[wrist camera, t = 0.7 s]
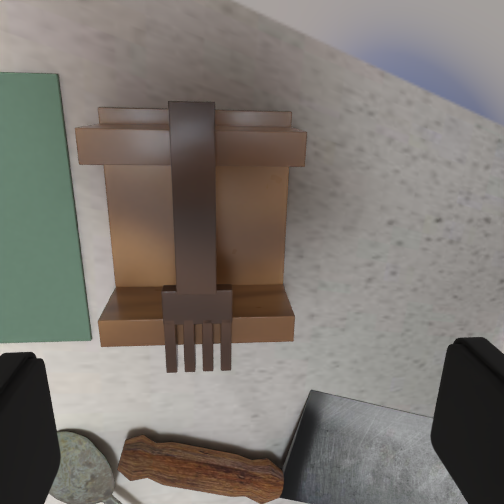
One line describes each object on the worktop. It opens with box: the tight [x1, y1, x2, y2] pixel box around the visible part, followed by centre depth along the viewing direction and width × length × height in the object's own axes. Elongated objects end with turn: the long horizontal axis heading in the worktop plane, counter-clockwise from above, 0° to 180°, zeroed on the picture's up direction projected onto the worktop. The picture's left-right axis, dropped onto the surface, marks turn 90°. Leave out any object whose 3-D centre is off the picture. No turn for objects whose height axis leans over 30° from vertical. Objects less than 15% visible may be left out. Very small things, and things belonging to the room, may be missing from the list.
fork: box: [161, 101, 233, 373], centre depth 25 cm, size 17×4×2 cm, turn 179°
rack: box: [75, 107, 307, 347], centre depth 28 cm, size 16×13×6 cm
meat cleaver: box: [117, 390, 461, 504], centre depth 38 cm, size 34×11×4 cm, turn 72°
